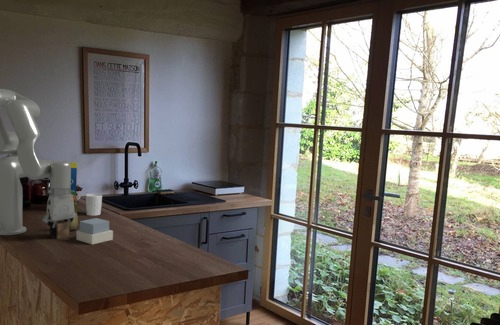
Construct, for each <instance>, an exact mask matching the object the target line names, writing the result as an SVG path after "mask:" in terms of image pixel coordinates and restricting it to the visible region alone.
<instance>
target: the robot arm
mask: <svg viewBox="0 0 500 325" xmlns="http://www.w3.org/2000/svg"><path fill="white" fill-rule="evenodd" d="M0 110H6V113H7V116H8V118H9V121H10V123H11V125H12V127H13V130H14V131H9V130H8V129H7V127H6V125H5V123H4V120H3V118H2V117H1V116H0V156H1V155H8V156H3V157H0V236H14V235H19V234H23V233H26V232H27V226H23V205H24V204H23V201H24V200H23V197H24V195H23V190H24V189H23V184H22V183H21V178H22V179H23V178H26V177H27V179H29V180H34V181H35V180H41V179H47V178H48V179H49V178H50V189H48V190H47V194H49V195H48V199H47V204H46V213H45V215H44V217H43V218H42V222H43V223H45V224H46V225H47V226H48V227H49V232H50V233H49V235H50V237H51V236H52V238H54V237H56V234H57V228H56V227H55V226H56V223H57V221H61V220H64V221H66V222H69V232H71V231H70V225H71V222H72V221H73V220H74V218H75V217H76V216H78V213H77V214H76V213H75V212H74V200H73V195H72V194H71V164H70V163H71V162H69V161H64V160H53V159H38V158H37V154H36V153H35V147H34V146H35V143H36V141H37V140H38V138H40V136H41V131H40V129H39V126H38V124H37V122H36V120H38V118H39V117H40V115H41V109H40V106H39V105H38V103H37V102H36V101H34V100H32V99H30V98H27V97H26V96H24V95H22V94H19V93H17V92H16V91H14V90H11V89H7V88H6V89H5V88H0Z"/></svg>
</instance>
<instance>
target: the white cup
mask: <svg viewBox="0 0 500 325" xmlns="http://www.w3.org/2000/svg"><path fill="white" fill-rule="evenodd" d="M102 204H103V194H101V193H87V194H85V209H86V216H92V217H93V216H100V215H101V212H102Z"/></svg>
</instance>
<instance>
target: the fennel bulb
mask: <svg viewBox="0 0 500 325" xmlns="http://www.w3.org/2000/svg"><path fill="white" fill-rule="evenodd" d="M74 212H75V213H76V214H77V216H76V217H75V218H74V220H73V221H72V222H71V225H70V231H69V232H71V231H73V232H74V231H77V228H78V226H79V217H78V203H77V202H76V203H74ZM63 221H64V220H63Z"/></svg>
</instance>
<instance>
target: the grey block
mask: <svg viewBox="0 0 500 325" xmlns="http://www.w3.org/2000/svg"><path fill="white" fill-rule="evenodd" d="M79 230H80V231H82V232H85V233H89V234H98V233H102V232H106V231H109V230H110V221H109V220H106V219H101V218H97V217H95V218H90V219H85V220H80V221H79Z"/></svg>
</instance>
